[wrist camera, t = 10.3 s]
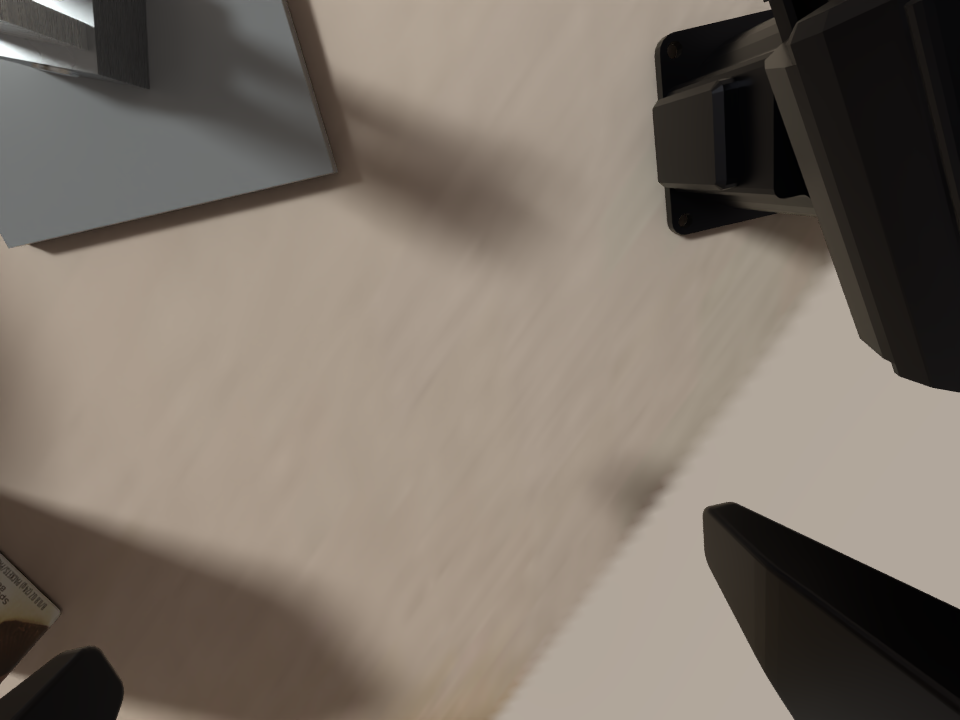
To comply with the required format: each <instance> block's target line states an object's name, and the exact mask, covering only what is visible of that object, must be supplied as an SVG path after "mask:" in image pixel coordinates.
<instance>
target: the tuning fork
mask: <svg viewBox="0 0 960 720" xmlns="http://www.w3.org/2000/svg"><path fill="white" fill-rule="evenodd" d="M0 59H3V60H6V61H10V62H14V63H18V64H21V65H25V66H29V67H31V68H34V69H38V70H43V71H47V72H51V73H56V74H61V75H66V76H72V77H78V78H79V76H80V77H85V78H91V79H96V80H101V81H107V82H112V83H117V84H123V85H128V86H133V87H139V88H144V89H149V90H150V77H149V57H148V36H147V16H146V0H0Z"/></svg>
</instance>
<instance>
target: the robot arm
mask: <svg viewBox="0 0 960 720" xmlns="http://www.w3.org/2000/svg"><path fill="white" fill-rule="evenodd" d="M763 1H764V2H767V1H769V3H770V6H771V9H772V10H767V11H763V12H759V13H754V14H750V15H746V16H742V17H737V18H733V19H729V20H724V21H720V22H716V23H712V24H707V25H703V26H699V27H694V28H690V29H686V30H682V31H677V32H673V33H671V34H669V35H667V36H665V37H664V38H662V39H661V40H660V42H659V43H658V44H657V47H656V49H655V67H656V80H657V93H658V101H657V103H656V104H655V106H654V107H653V123H654V135H655V148H656V160H657V172H658V182H659V183H660V184H661V185H663V186H664V187H665V198H666V211H667V223H668V227H669V229H670V230H671V231H672V232H674V233H677V234H681V235H685V234H690V233H695V232H699V231H703V230H708V229H712V228H716V227H720V226H725V225H729V224H733V223H737V222H742V221H746V220H750V219H755V218H759V217H763V216H767V215H772V214H776V213H785V214H794V215H803V216H812V217H817V218H818V221H819V224H820V227H821V229H822V232H823V235H824V238H825V241H826V244H827V246H828V249H829V252H830V255H831V258H832V261H833V263H834V266H835V269H836V272H837V275H838V278H839V280H840V283H841V286H842V289H843V292H844V295H845V297H846V300H847V303H848V306H849V309H850V312H851V314H852V317H853V320H854V323H855V326H856V329H857V331H858V334H859V337H860V339H861V340H863V341H864V342H865V343H866V344H868V346H870V347H871V348H872V349H873V350H874V351H875V352H876V353H878V354H879V355H880V356H881V357H882V358H884V359H886V360H888V361H890V362H891V363H892V366H893V369H894V372H895V373H896V374H897V375H898V376H900V377H903V378H906V379H909V380H912V381H915V382H918V383H920V384H923V385H926V386H929V387H932V388H937V389H943V390H949V391H954V392H960V0H763ZM669 44H673V45H674V46H675V47H676V50H677V53H676V57H675V58H674V59H671V58H670V57H669V56H668V54H667V48H668V46H669ZM683 214H686V216H687V222H686V223H685V225H684V226H682V227H681V226H680V225H679V218H680V217H681V215H683ZM703 532H704V550H705V556H706V560H707V563H708V565H709V567H710V569H711V571H712V573H713V575H714V577H715V579H716V581H717V583H718V585H719V587H720V589H721V591H722V593H723V594H724V596H725V598H726V600H727V602H728V604H729V606H730V608H731V610H732V612H733V614H734V615H735V617H736V619H737V621H738V623H739V625H740V627H741V629H742V631H743V633H744V635H745V637H746V639H747V641H748V643H749V644H750V646H751V648H752V650H753V652H754V654H755V656H756V658H757V660H758V661H759V663H760V665H761V667H762V669H763V670H764V672H765V674H766V676H767V677H768V679H769V681H770V682H771V684H772V685H773V687H774V689H775V690H776V692H777V693H778V695H779V697H780V698H781V700H782V701H783V703H784V704H785V706H786V707H787V709H788V710H789V712H790V714H791V715H792V716H793V718H794V720H960V609H958V608H956V607H954V606H952V605H950V604H948V603H946V602H944V601H941V600H939V599H937V598H935V597H933V596H931V595H929V594H926V593H924V592H922V591H920V590H918V589H916V588H914V587H912V586H910V585H908V584H906V583H903V582H901V581H899V580H897V579H895V578H893V577H891V576H889V575H887V574H884V573H882V572H880V571H878V570H876V569H874V568H872V567H870V566H868V565H865V564H863V563H861V562H859V561H857V560H855V559H853V558H851V557H849V556H846V555H844V554H842V553H840V552H838V551H836V550H834V549H832V548H830V547H828V546H825V545H823V544H821V543H819V542H817V541H815V540H813V539H811V538H809V537H806V536H804V535H802V534H800V533H798V532H796V531H794V530H792V529H790V528H787V527H785V526H783V525H781V524H779V523H777V522H775V521H773V520H771V519H769V518H766V517H764V516H762V515H760V514H758V513H756V512H754V511H752V510H750V509H747V508H745V507H743V506H741V505H739V504H737V503H734V502H726V503H721V504H717V505H713V506H708V507H707V508H705V509H704V512H703ZM123 695H124V687H123V683H122V681H121V679H120V677H119V676H118V674H117V673H116V672H115V670H114V669H113V667H112V666H111V664H110V663H109V661H108V660H107V658H106V657H105V655H104V654H103V652H102V651H101V650H100V649H99V648H97V647H95V646H85V647H81V648H76V649H72V650H68V651H65V652H62V653H60V654H59V655H57V656H56V657H54V658H53V659H52V660H50V661H49V662H48V663H46V664H45V665H44V666H43V667H41V668H40V669H39V670H37V671H36V672H35V673H33V674H32V675H31V676H29V677H28V678H27V679H26V680H24V681H23V682H22V683H20V684H19V685H18V686H16V687H15V688H14V689H12V690H11V691H10V692H9V693H7V694H6V695H5V696H3V697H2V698H1V699H0V720H116V719H117V716H118V713H119V710H120V707H121V704H122V701H123Z"/></svg>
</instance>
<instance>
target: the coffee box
mask: <svg viewBox="0 0 960 720" xmlns="http://www.w3.org/2000/svg"><path fill="white" fill-rule="evenodd" d="M59 616H60V610H59V609H58V608H57V607H56V606H55V605H54V604H53V603H52V602H51V601H50V600H49V599H48V598H47V597H45V596H44V595H43V594H42V593H41V592H40V591H39V590H38V589H37V588H36V587H35V586H34V585H33V584H32V583H31V582H30V581H29V580H28V579H27V578H26V577H25V576H24V575H23V574H21V573H20V572H19V571H18V570H17V569H16V568H15V567H14V566H13V565H12V564H11V563H10V562H9V561H8V560H7V559H6V558H5V557H4V556H3V555H2V554H1V553H0V684H1V682H2V681H3V680H4V679H5V678H6V677H7V675H8V674H9V673H10V672H11V671H12V670H13V669H14V667H15V666H16V665H17V664H18V663H19V662H20V660H21V659H22V658H23V657H24V656H25V655H26V654H27V653H28V651H29V650H30V649H31V648H32V647H33V646H34V644H35V643H36V642H37V641H38V640H39V639H40V638H41V636H42V635H43V634H44V633H45V632H46V631H47V630H48V629H49V628H50V626H51V625H52V624H53V623H54V622H55V621H56V620H57V618H58V617H59Z"/></svg>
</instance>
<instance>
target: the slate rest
mask: <svg viewBox="0 0 960 720" xmlns="http://www.w3.org/2000/svg"><path fill="white" fill-rule="evenodd" d="M146 16H147V36H148V57H149V77H150V90H149V89H144V88H139V87H133V86H128V85H123V84H117V83H112V82H107V81H101V80H96V79H91V78H85V77H80V76H79V78H78V77H72V76H66V75H61V74H56V73H51V72H47V71H43V70H38V69H34V68H31V67H29V66H25V65H21V64H18V63H14V62H10V61H6V60H3V59H0V234H1V236H2V237H3V239H4V241H5V243H6V244H7V246H8V248H13V247H19V246H24V245H29V244H34V243H38V242H42V241H47V240H51V239H55V238H59V237H64V236H68V235H72V234H77V233H81V232H85V231H89V230H94V229H98V228H102V227H107V226H111V225H115V224H119V223H124V222H128V221H132V220H137V219H141V218H145V217H149V216H154V215H158V214H162V213H167V212H171V211H175V210H179V209H184V208H188V207H192V206H196V205H201V204H205V203H209V202H214V201H218V200H222V199H226V198H231V197H235V196H239V195H244V194H248V193H252V192H256V191H261V190H265V189H269V188H274V187H278V186H282V185H286V184H291V183H295V182H299V181H304V180H308V179H312V178H316V177H321V176H325V175H329V174H334V173H338V170H337V167H336V164H335V160H334V157H333V154H332V150H331V147H330V144H329V140H328V137H327V134H326V130H325V127H324V124H323V120H322V117H321V114H320V110H319V107H318V104H317V101H316V97H315V94H314V91H313V87H312V84H311V81H310V77H309V74H308V71H307V67H306V64H305V61H304V57H303V54H302V51H301V47H300V44H299V41H298V37H297V34H296V31H295V28H294V24H293V21H292V18H291V14H290V11H289V8H288V4H287V1H286V0H146Z"/></svg>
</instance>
